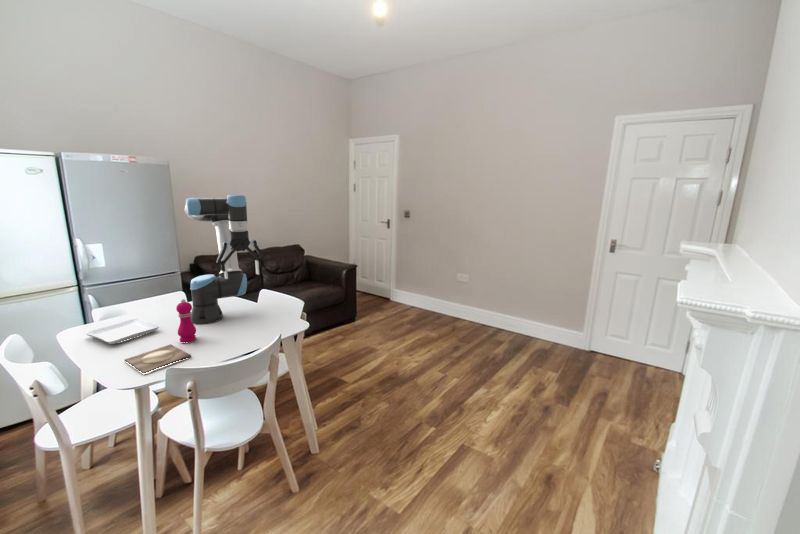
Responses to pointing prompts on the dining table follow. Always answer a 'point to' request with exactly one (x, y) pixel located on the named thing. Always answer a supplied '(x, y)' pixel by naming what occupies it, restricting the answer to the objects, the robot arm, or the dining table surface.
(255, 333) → the dining table surface
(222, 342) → the dining table surface
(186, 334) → the pepper mill
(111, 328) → the salad plate
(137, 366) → the walnut stand
